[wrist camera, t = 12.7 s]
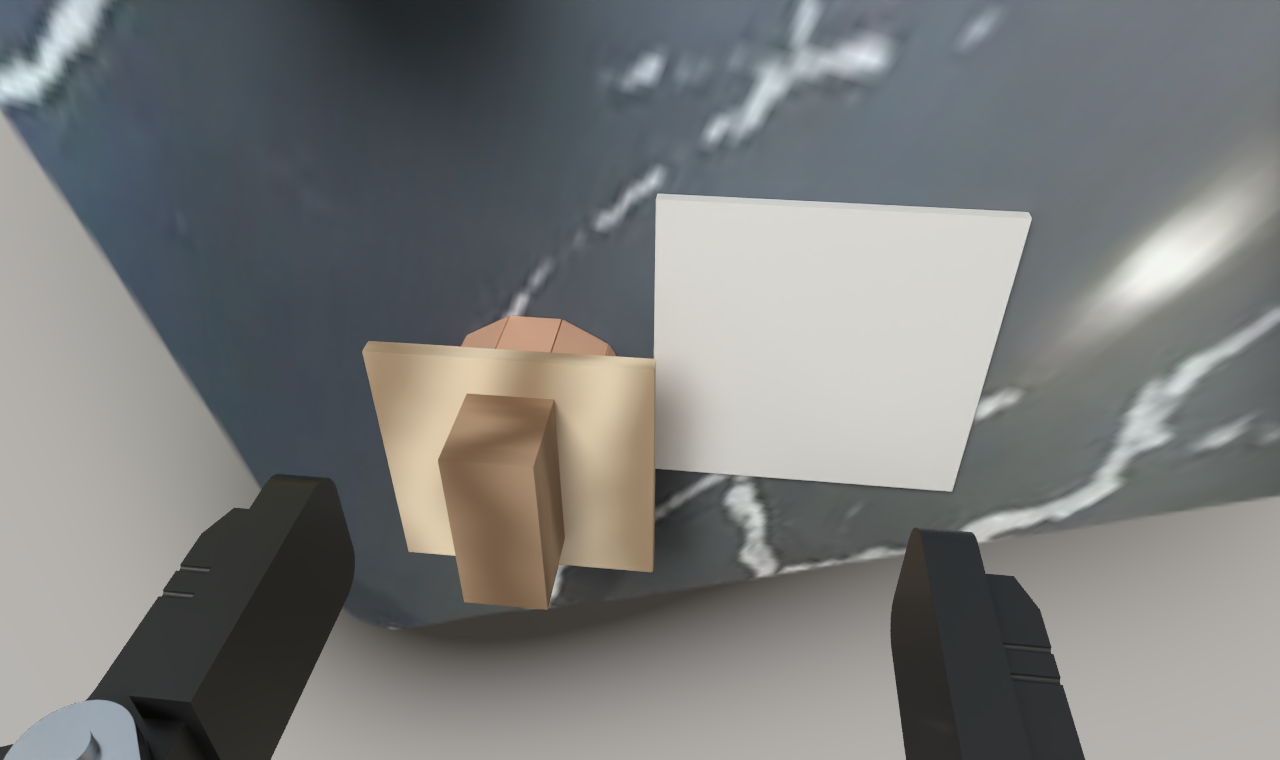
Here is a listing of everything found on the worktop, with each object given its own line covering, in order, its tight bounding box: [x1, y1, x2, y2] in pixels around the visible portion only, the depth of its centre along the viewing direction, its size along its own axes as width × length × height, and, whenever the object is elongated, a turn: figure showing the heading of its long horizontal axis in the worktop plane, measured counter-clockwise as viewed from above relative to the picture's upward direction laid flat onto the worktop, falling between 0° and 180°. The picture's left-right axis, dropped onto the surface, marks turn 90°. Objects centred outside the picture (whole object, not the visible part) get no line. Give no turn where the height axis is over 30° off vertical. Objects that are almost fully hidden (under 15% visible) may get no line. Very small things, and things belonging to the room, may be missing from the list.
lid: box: [362, 341, 656, 609], centre depth 41 cm, size 13×13×5 cm
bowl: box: [460, 316, 617, 357], centre depth 46 cm, size 10×10×5 cm
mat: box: [654, 194, 1032, 492], centre depth 44 cm, size 16×16×1 cm
